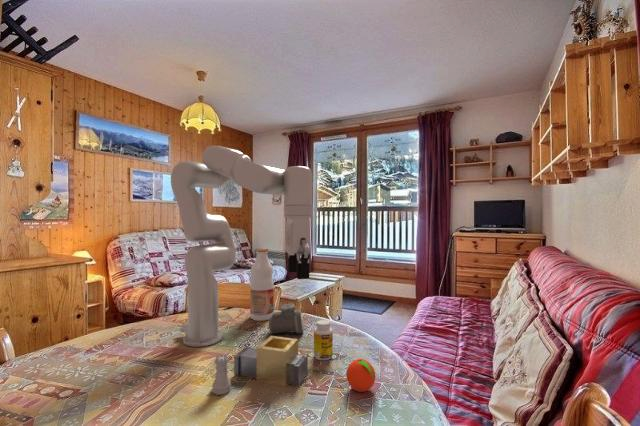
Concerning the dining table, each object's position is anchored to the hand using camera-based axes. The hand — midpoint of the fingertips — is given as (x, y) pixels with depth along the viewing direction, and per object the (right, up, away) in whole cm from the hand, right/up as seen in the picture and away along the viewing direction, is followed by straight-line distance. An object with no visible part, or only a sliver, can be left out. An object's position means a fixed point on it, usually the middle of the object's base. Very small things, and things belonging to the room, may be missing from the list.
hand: (298, 275), depth 85 cm
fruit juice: (-18, -26, +42) cm, 52 cm away
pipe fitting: (-6, -26, +26) cm, 37 cm away
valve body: (-7, -25, -3) cm, 27 cm away
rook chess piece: (-18, -26, -10) cm, 33 cm away
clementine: (+16, -26, -11) cm, 32 cm away
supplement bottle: (+7, -26, +7) cm, 27 cm away
